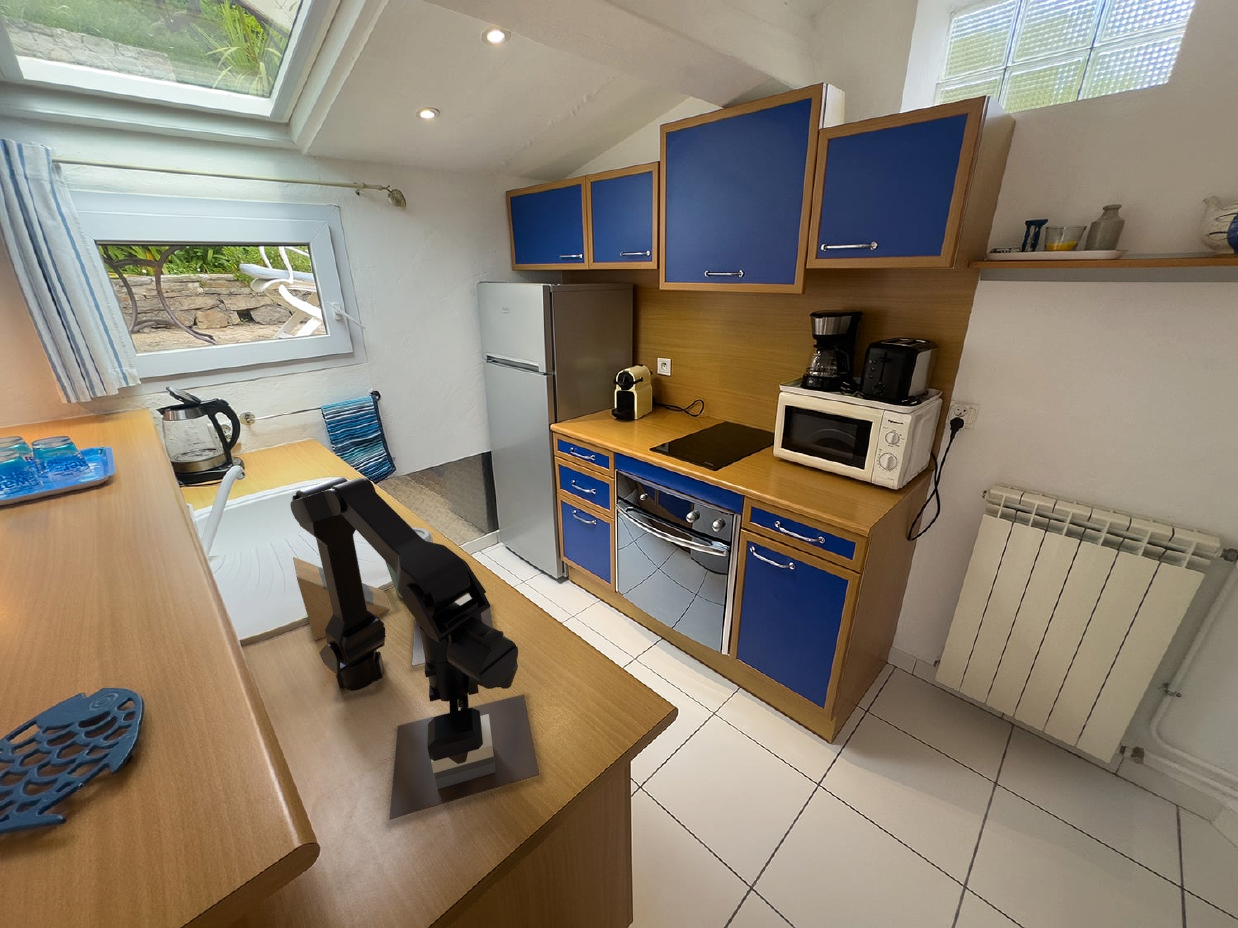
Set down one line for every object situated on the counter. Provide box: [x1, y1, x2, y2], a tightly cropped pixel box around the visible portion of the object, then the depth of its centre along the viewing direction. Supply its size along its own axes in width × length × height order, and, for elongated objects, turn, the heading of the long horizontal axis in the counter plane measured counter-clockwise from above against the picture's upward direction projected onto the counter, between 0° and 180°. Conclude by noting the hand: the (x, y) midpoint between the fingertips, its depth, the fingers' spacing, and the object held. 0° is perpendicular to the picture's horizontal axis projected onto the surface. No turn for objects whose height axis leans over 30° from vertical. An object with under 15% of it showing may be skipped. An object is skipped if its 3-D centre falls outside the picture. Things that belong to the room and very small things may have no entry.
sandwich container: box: [292, 556, 391, 641], centre depth 101 cm, size 9×15×15 cm, turn 126°
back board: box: [411, 607, 494, 667], centre depth 98 cm, size 15×14×1 cm
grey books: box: [434, 736, 495, 789], centre depth 71 cm, size 8×4×4 cm, turn 109°
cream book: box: [431, 714, 493, 773], centre depth 70 cm, size 8×6×2 cm
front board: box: [389, 694, 540, 820], centre depth 75 cm, size 20×15×1 cm
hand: (460, 732), depth 70 cm, fingers open, 9 cm apart
